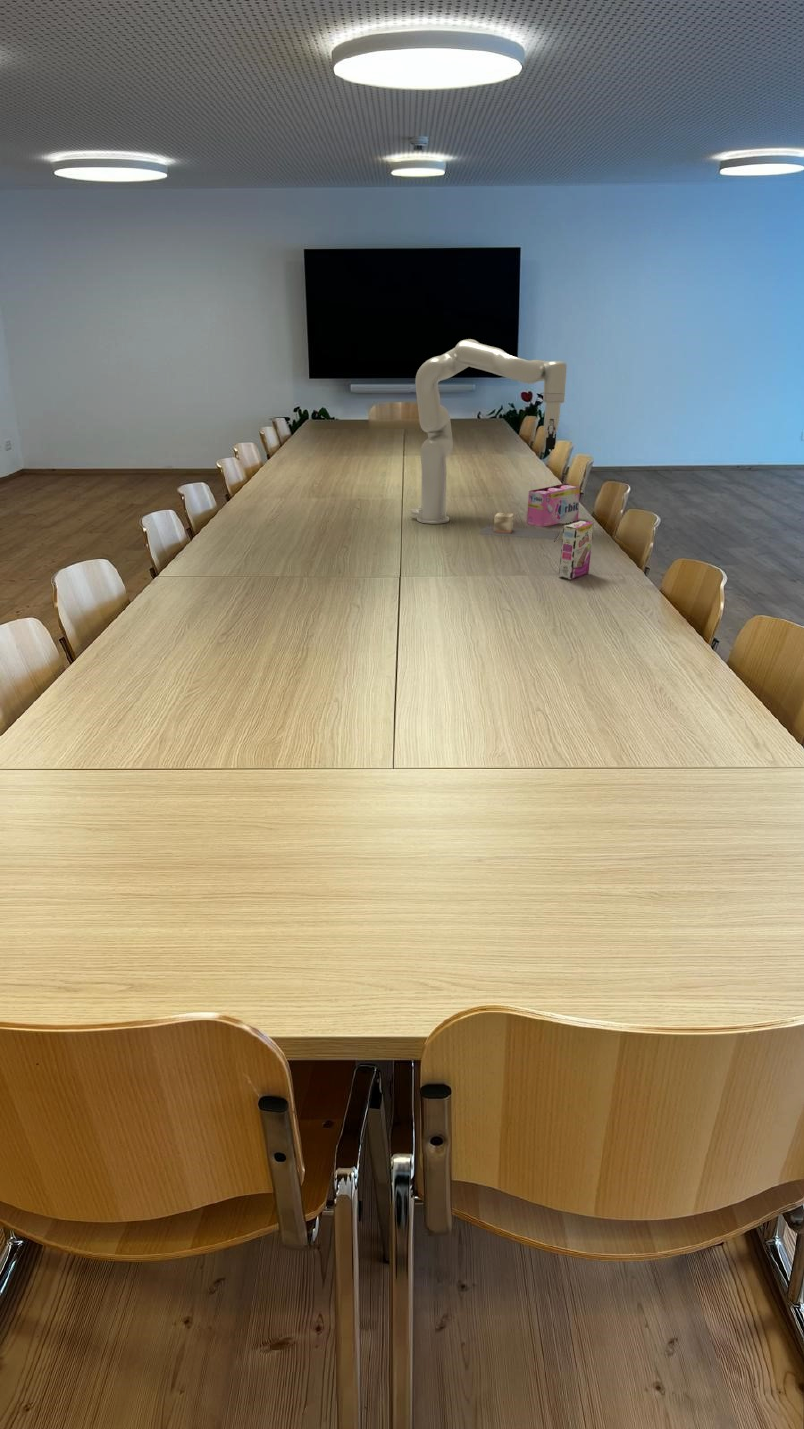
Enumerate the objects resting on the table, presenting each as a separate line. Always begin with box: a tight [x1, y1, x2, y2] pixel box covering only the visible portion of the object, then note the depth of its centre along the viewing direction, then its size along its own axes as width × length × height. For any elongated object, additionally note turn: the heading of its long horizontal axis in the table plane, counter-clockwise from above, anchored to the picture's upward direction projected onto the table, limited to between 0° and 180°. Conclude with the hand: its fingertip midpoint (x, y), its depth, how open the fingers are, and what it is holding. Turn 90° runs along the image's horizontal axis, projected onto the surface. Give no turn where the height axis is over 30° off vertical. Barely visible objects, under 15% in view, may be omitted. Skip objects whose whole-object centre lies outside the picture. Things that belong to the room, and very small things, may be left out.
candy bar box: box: [558, 520, 595, 581], centre depth 305 cm, size 11×5×16 cm, turn 141°
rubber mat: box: [477, 525, 561, 543], centre depth 357 cm, size 28×14×1 cm, turn 74°
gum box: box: [526, 483, 581, 528], centre depth 373 cm, size 24×8×14 cm, turn 134°
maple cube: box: [493, 512, 515, 534], centre depth 357 cm, size 6×6×6 cm
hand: (550, 447), depth 354 cm, fingers open, 9 cm apart
